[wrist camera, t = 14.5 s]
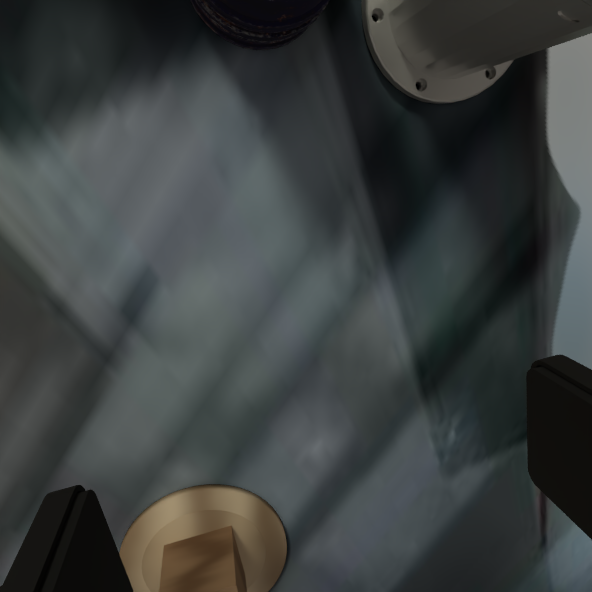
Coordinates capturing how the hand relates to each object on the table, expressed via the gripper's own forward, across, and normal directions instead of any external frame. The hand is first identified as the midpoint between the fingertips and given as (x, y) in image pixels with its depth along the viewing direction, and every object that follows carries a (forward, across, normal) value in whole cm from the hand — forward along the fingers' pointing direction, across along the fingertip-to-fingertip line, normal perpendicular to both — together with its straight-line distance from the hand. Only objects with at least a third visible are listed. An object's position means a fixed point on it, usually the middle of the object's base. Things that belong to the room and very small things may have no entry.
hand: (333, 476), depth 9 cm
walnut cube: (+25, +9, +27) cm, 38 cm away
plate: (+26, +9, +27) cm, 39 cm away
